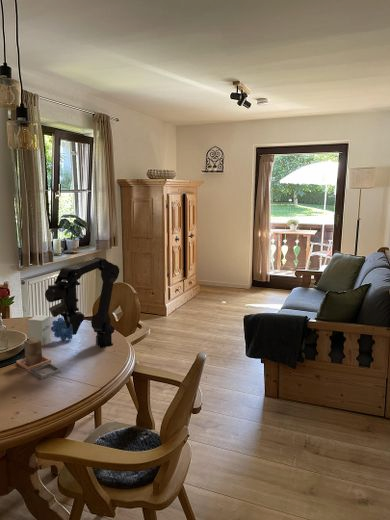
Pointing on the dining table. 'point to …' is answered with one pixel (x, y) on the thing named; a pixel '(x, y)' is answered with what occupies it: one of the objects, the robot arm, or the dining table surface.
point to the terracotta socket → (33, 365)
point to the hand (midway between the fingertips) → (71, 331)
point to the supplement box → (39, 328)
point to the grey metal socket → (47, 373)
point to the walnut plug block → (33, 352)
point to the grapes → (61, 329)
